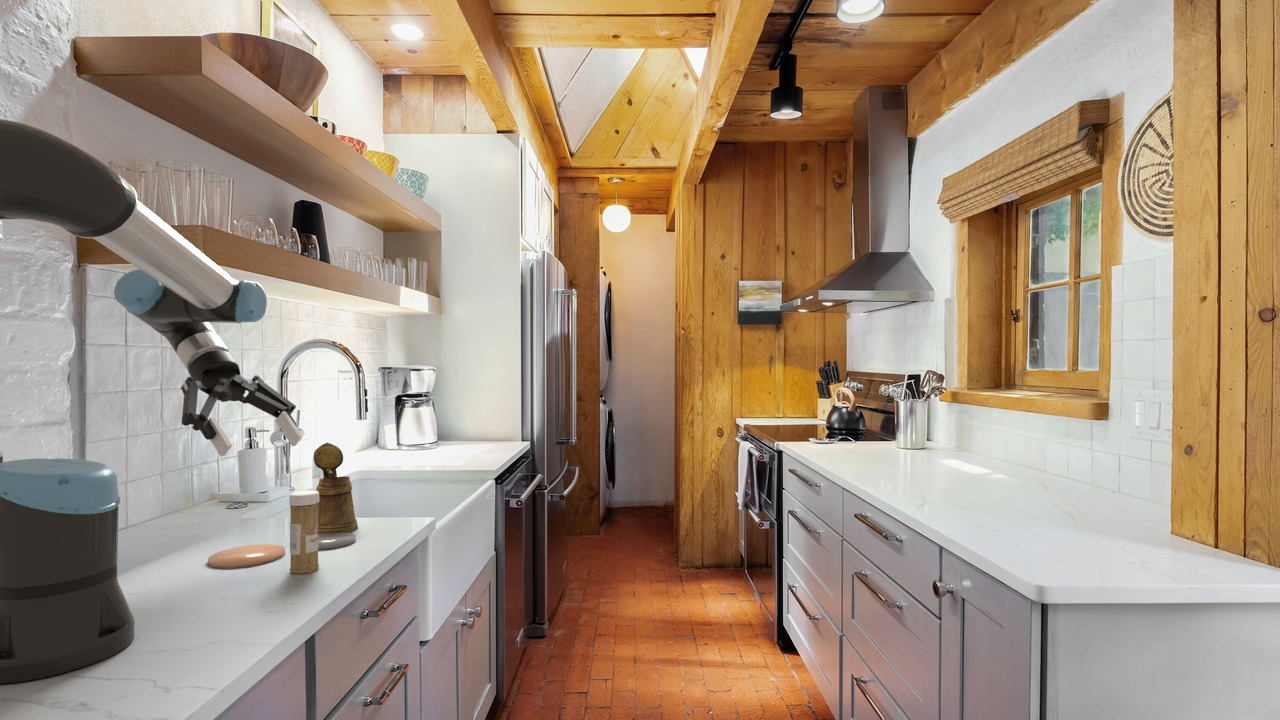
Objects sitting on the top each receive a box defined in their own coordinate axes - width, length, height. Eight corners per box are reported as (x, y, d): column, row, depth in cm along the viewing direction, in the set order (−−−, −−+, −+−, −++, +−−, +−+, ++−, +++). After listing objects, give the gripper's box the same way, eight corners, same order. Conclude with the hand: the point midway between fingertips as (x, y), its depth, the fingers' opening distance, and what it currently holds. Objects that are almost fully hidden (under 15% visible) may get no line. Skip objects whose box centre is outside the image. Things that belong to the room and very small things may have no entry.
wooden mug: (347, 518, 146) (348, 440, 146) (362, 531, 135) (362, 446, 135) (304, 524, 140) (305, 443, 141) (315, 537, 130) (316, 450, 130)
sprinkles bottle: (320, 571, 108) (320, 492, 108) (290, 576, 105) (290, 495, 106) (317, 564, 112) (317, 488, 112) (287, 569, 109) (288, 491, 109)
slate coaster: (309, 553, 118) (309, 549, 119) (292, 542, 126) (292, 538, 126) (363, 542, 126) (363, 538, 126) (344, 533, 133) (344, 529, 133)
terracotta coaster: (216, 572, 107) (216, 568, 107) (201, 557, 116) (201, 553, 116) (293, 557, 116) (293, 553, 116) (274, 544, 124) (274, 540, 124)
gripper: (261, 374, 132) (313, 450, 126) (125, 377, 109) (181, 470, 103) (279, 349, 130) (332, 425, 124) (144, 347, 107) (202, 440, 101)
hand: (263, 446), depth 114 cm, fingers open, 13 cm apart
